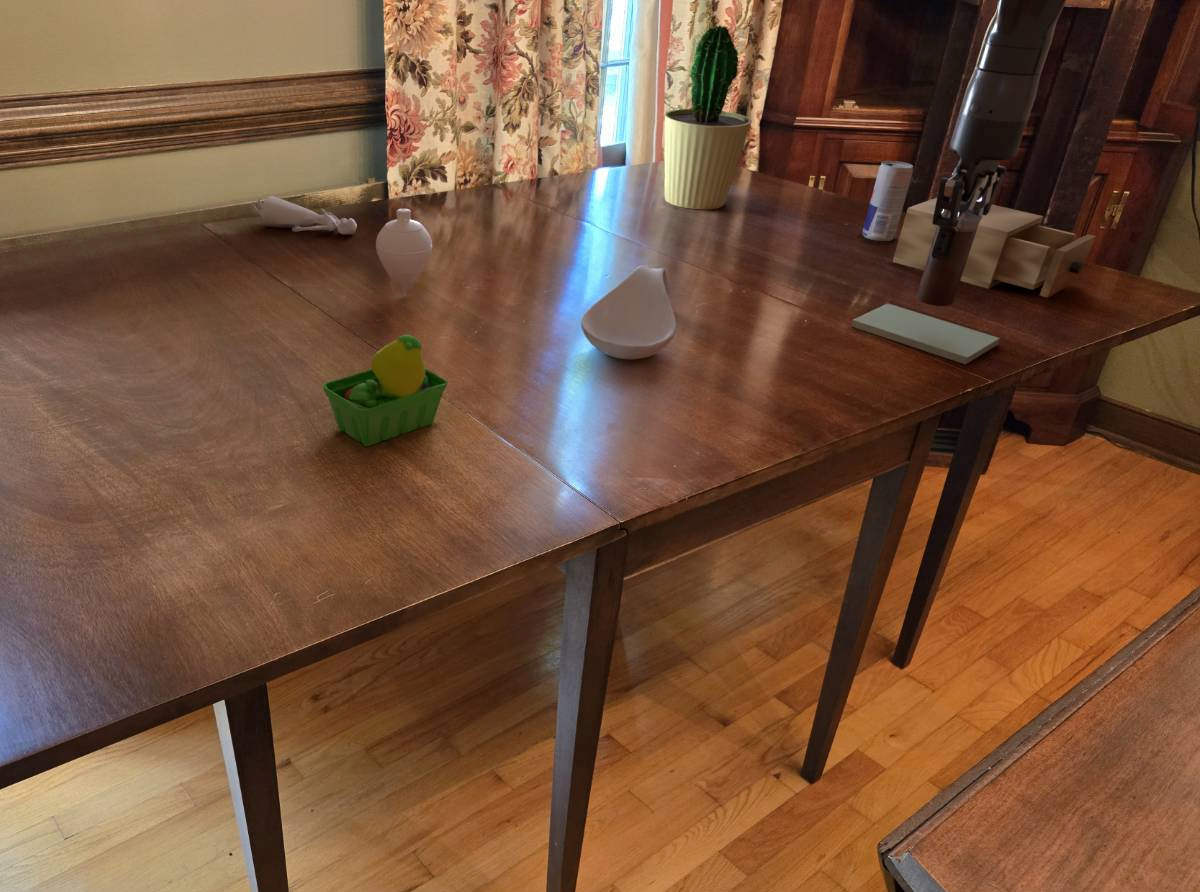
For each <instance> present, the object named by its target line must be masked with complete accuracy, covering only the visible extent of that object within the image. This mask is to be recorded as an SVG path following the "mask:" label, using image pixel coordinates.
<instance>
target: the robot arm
mask: <svg viewBox="0 0 1200 892" xmlns="http://www.w3.org/2000/svg"><path fill="white" fill-rule="evenodd" d="M1066 3H1067V0H998V2H997V8H996V11H995V13H994V15H993V17H992V18H991V20H990V22H989V23H988V27H987V28H986V31H985V34H984V37H983V40H982V43H981V48H980V51H979V54H978V57H977V59H976V64H975V67H974V70H973V72H972V75H971V77H970V79H969V81H968V84H967V87H966V89H965V93H964V96H963V99H962V103H961V105H960V108H959V109H960V110H959V112H958V115H957V120H956V122H955V126H954V129H953V133H952V135H951V139H950V143H949V149H950V151H951V152H952V153H954V154H957V155H958V156H959V160H958V163H957V165H956V167H955V168H954V170H953V171H952V174H951V176H950V177H945V176H943V177H942V178H941V179H940V181H939V185H938V190H937V196H936V198H937V201H936V206H935V211H934V216H933V222H932V224H934V225H937V227H940V228H939V231H938V234H937V237H936V240H935V244H934V247H933V250H932V253H931V256H932V257H933V258H935V259H939V260H943V261H946V260H948V259H950V257H951V254H952V251H953V248H954V245H955V242H956V239H957V236H958V232H959V229H960V228H961V225H962V222H963V220H964V218H965V216H966V214H968V213H972V214H975V215H977V216H979V217H980V221H981V219H982V215H985V216H986V215H987V214H988V213H989V211H990V208H991V206H992V205H993V203H994V200H995V198H996V196H997V194H998V191H999V189H1000V187H1001V184H1002V182H1003V179H1004V177H1005V175H1006V173H1007V169H1008V168H1007V167H1006V166H1003V165H999V164H1000V161H1008V160H1011V159H1013V158H1015V157H1016V156H1017V153H1018V151H1019V148H1020V145H1021V142H1022V139H1023V136H1024V133H1025V130H1026V127H1027V124H1028V121H1029V118H1030V115H1031V111H1032V109H1033V106H1034V103H1035V100H1036V97H1037V94H1038V89H1039V83H1040V78H1041V75H1042V71H1043V69H1044V66H1045V63H1046V59H1047V57H1048V54H1049V51H1050V47H1051V45H1052V41H1053V38H1054V34H1055V30H1056V26H1057V23H1058V20H1059V19H1060V16H1061V14H1062V11H1063V9H1064V7H1065V5H1066ZM960 203H961V204H960ZM942 211H943V212H942ZM958 212H959V214H958ZM949 213H950V217H948V216H949Z"/></svg>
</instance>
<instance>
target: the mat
mask: <svg viewBox="0 0 1200 892" xmlns="http://www.w3.org/2000/svg"><path fill="white" fill-rule="evenodd" d="M850 327H851V328H855V329H857V330H860V331H863V332H865V333H869V334H873V335H876V336H878V337H880V338H881V337H882V338H884V339H888V340H890V341H893V342H896V343H899V344H902V345H905V346H908V347H912V348H914V349H917V350H921V351H923V352H926V353H930V354H932V355H935V356H939V357H941V358H944V359H948V360H950V361H953V362H956V363H959V364H962V365H967V364H969V363H970V362H972V361H973V360H975V359H977V358H978V357H980V356H982V355H983V354H985V353H987V352H989V351H990V350H992V349H993V348H996V347H997V346H998V345H999V342H1000V337H997V336H996V335H995V336H994V335H991V334H989V333H985V332H982V331H979V330H975V329H972V328H970V327H969V328H968V327H966V326H962V325H959V324H955V323H952V322H949V321H946V320H943V319H939V318H936V317H932V316H930V315H927V314H923V313H920V312H917V311H915V310H914V311H913V310H911V309H907V308H904V307H901V306H898V305H894V304H891V303H885V304H883V305H881V306H879V307H877V308H875V309H872V310H871V311H869V312H866V313H864V314H862V315H860V316H858V317H855V318H854V319H852V321H851V325H850Z"/></svg>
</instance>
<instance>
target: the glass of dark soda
mask: <svg viewBox="0 0 1200 892" xmlns="http://www.w3.org/2000/svg"><path fill="white" fill-rule="evenodd" d="M958 214H959V212H958ZM948 217H950V213H949V216H948ZM979 222H980V217H979V216H977V215H975V214H972V213H968V214H966V216H965V218H964V220H963V222H962V225H961V228H960V229H959V232H958V236H957V239H956V242H955V245H954V248H953V251H952V254H951V257H950V259H948V260H946V261H943V260H939V259H935V258H933V257H932V256H931V253H932V250H933V247H934V244H935V240H936V237H937V234H938V231H939V228H940V227H937V229H936V232H935V236H934V239H933V242H932V245H931V249H930V252H929V255H928V259H927V262H926V265H925V268H924V271H923V272H922V275H921V279H920V282H919V285H918V288H917V291H916V295H915V299H916V300H917V301H918V302H921V303H923V304H926V305H929V306H935V307H949V306H951V305H953V303H954V302H955V301H954V300H955V298H956V294H957V292H958V289H959V286H960V282H961V281H960V280H961V277H962V274H963V271H964V268H965V265H966V262H967V258H968V255H969V252H970V249H971V246H972V243H973V240H974V237H975V234H976V231H977V228H978V225H979Z"/></svg>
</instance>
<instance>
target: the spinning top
mask: <svg viewBox="0 0 1200 892" xmlns="http://www.w3.org/2000/svg"><path fill="white" fill-rule="evenodd" d="M411 216H412V210H410V209H409V208H398V209H397V210H396V219H392V220H390V221H388V222H386V223H385V224H384V226H383V227H382V228H381V229H380V231H379V233H378V234H377V236H376V239H375V251H376V254H377V257H378V258H379V261H380V263H381V265H382V266H383V269H384V270H385V271H386V272H387V275H389V277H390V278H391V279H392V281H393V282H394V284H395V285H397V287H398V288H399V289H400V290H401V291H402V293H403V294H402V297H403V298H406V297H407V291H408V290H409V289H410V288H411V287H412V286H413V284H414V283H415V282H416V281H417V280H418V278H419V276H420V275H421V274H422V273H423V271H424V269H425V268H426V266H427V264H428V262H429V260H430V258H431V255H432V252H433V241H432V237H431V235H430V234H429V231H428V230H427V229H426V228H425V227H424V225H423V223H421V222H419V221H417V220H414V219H411Z"/></svg>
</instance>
